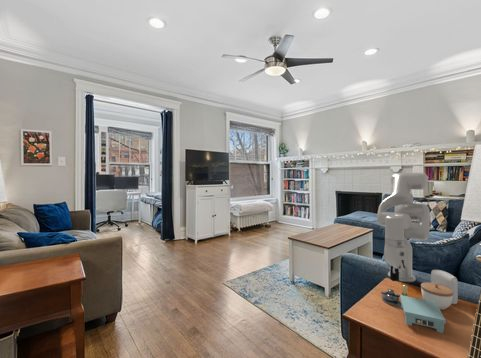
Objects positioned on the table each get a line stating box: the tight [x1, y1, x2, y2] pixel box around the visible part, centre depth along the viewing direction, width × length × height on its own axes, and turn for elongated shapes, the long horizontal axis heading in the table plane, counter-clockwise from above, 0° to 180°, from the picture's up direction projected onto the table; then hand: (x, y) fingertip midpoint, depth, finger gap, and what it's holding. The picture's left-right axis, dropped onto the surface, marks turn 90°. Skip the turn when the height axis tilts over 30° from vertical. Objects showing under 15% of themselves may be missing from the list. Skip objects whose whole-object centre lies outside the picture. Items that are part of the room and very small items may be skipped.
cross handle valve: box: [380, 284, 409, 303], centre depth 106 cm, size 10×7×7 cm
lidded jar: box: [420, 282, 453, 311], centre depth 102 cm, size 11×11×9 cm
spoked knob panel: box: [381, 294, 447, 334], centre depth 97 cm, size 22×18×5 cm
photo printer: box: [430, 269, 459, 305], centre depth 108 cm, size 10×4×12 cm, turn 9°
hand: (394, 280), depth 112 cm, fingers closed
